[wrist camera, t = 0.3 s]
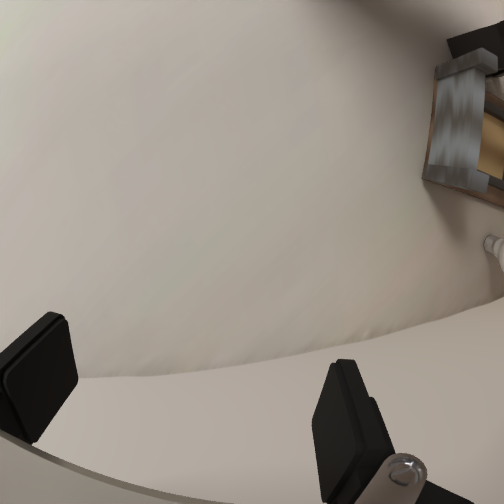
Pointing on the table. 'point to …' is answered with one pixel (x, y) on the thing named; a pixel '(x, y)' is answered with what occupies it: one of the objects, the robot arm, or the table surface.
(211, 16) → the table surface
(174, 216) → the table surface
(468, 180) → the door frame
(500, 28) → the phone stand
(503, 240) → the lightbulb
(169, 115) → the table surface
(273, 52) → the table surface
